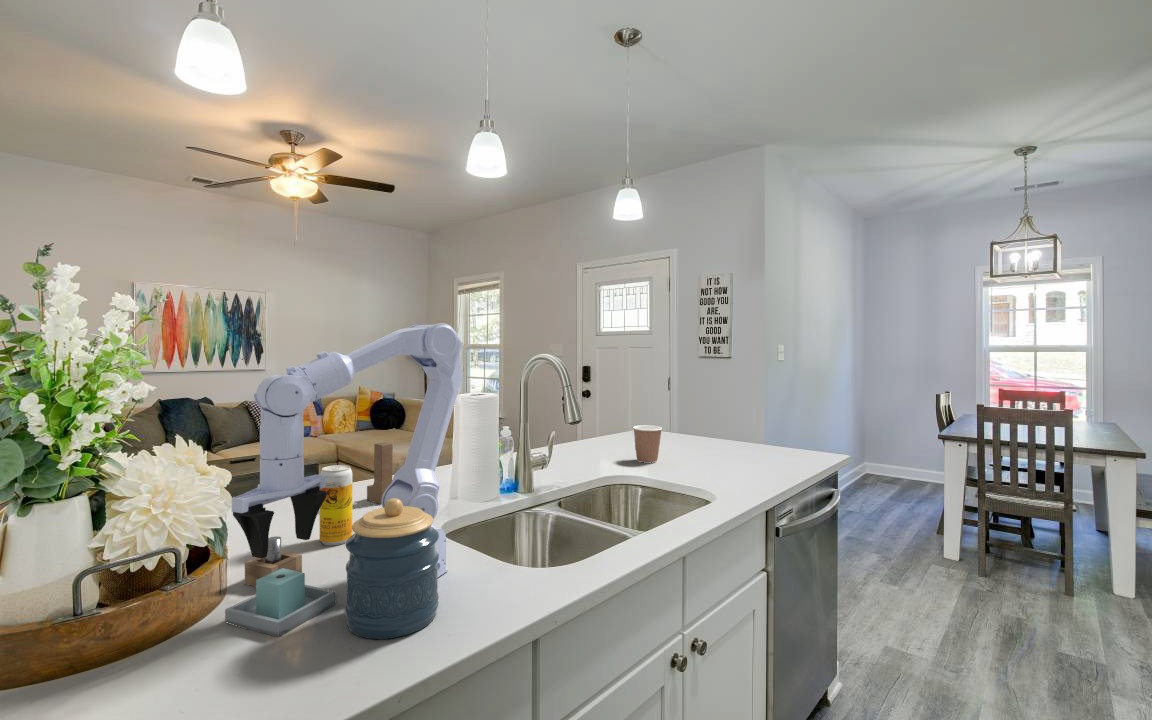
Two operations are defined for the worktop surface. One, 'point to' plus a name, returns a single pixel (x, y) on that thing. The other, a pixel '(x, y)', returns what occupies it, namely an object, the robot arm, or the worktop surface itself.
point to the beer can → (336, 505)
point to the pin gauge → (273, 550)
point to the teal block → (280, 593)
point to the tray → (314, 605)
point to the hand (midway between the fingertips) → (282, 547)
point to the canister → (392, 572)
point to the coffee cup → (647, 442)
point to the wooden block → (381, 471)
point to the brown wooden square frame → (271, 566)
